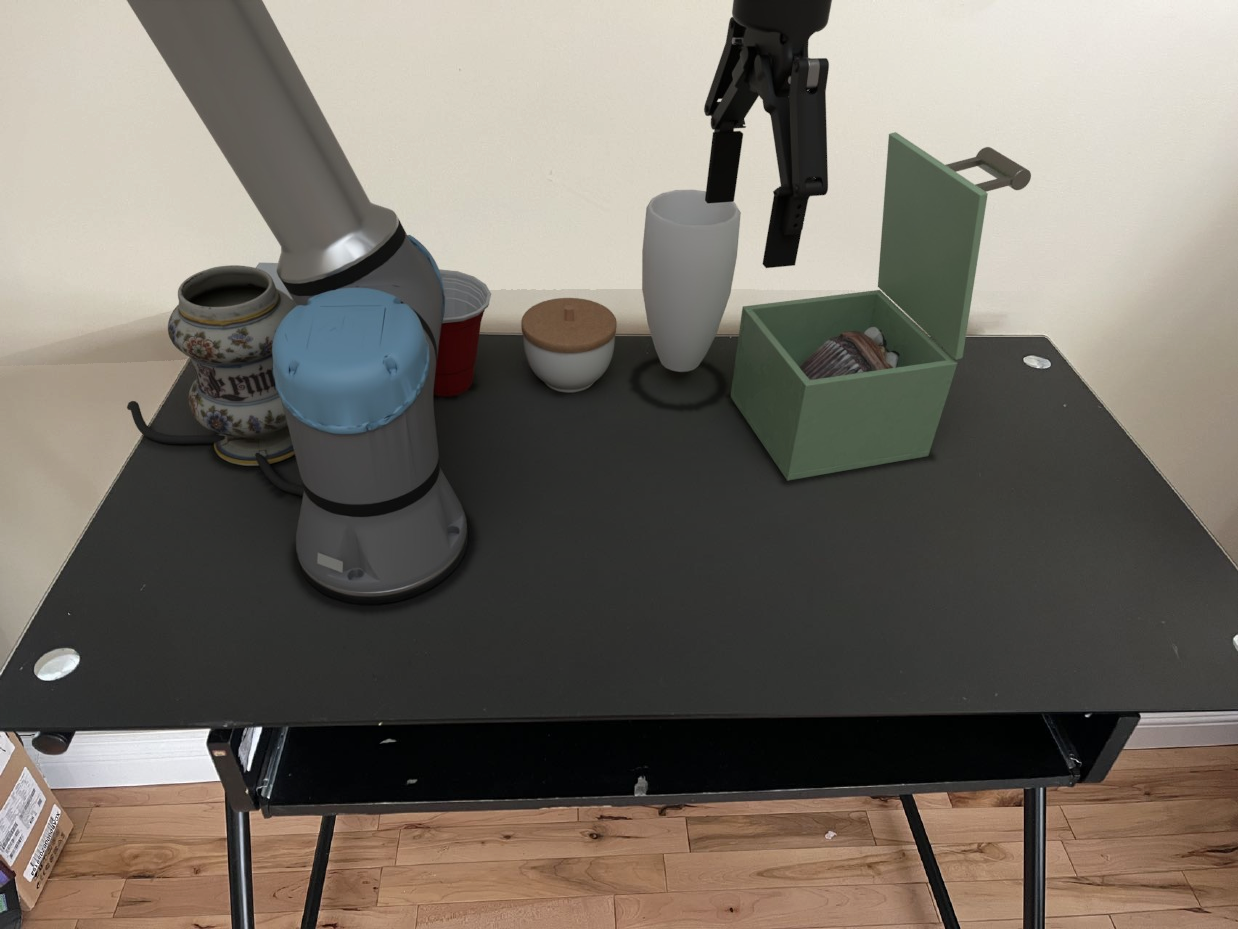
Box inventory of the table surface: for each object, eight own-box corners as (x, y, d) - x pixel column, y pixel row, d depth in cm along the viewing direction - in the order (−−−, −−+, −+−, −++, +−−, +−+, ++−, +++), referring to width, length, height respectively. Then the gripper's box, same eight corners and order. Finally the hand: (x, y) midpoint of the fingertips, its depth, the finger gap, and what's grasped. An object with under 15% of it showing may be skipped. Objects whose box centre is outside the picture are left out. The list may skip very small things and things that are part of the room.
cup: (615, 378, 107) (622, 203, 93) (677, 349, 112) (692, 179, 99) (678, 418, 101) (695, 238, 87) (740, 385, 107) (765, 211, 93)
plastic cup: (479, 416, 100) (472, 321, 93) (386, 402, 102) (372, 307, 94) (508, 364, 108) (503, 273, 101) (422, 352, 110) (411, 261, 102)
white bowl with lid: (504, 382, 105) (500, 311, 100) (560, 344, 112) (560, 275, 106) (578, 415, 101) (578, 343, 95) (632, 373, 108) (635, 303, 102)
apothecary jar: (291, 481, 90) (252, 324, 79) (180, 464, 92) (125, 307, 81) (342, 412, 100) (313, 262, 88) (240, 398, 101) (198, 249, 90)
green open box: (787, 480, 93) (805, 385, 86) (730, 396, 105) (742, 306, 97) (928, 456, 97) (958, 363, 90) (858, 377, 109) (879, 289, 101)
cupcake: (798, 359, 92) (882, 305, 92) (782, 368, 102) (858, 319, 101) (849, 438, 92) (933, 385, 92) (828, 439, 102) (904, 391, 102)
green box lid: (980, 195, 78) (1070, 171, 79) (888, 133, 90) (968, 113, 91) (955, 360, 89) (1034, 337, 91) (877, 286, 101) (948, 267, 102)
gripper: (684, -63, 77) (663, 180, 90) (816, 9, 59) (765, 301, 72) (765, -62, 79) (732, 176, 92) (917, 7, 61) (849, 292, 74)
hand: (747, 231), depth 82 cm, fingers open, 13 cm apart
